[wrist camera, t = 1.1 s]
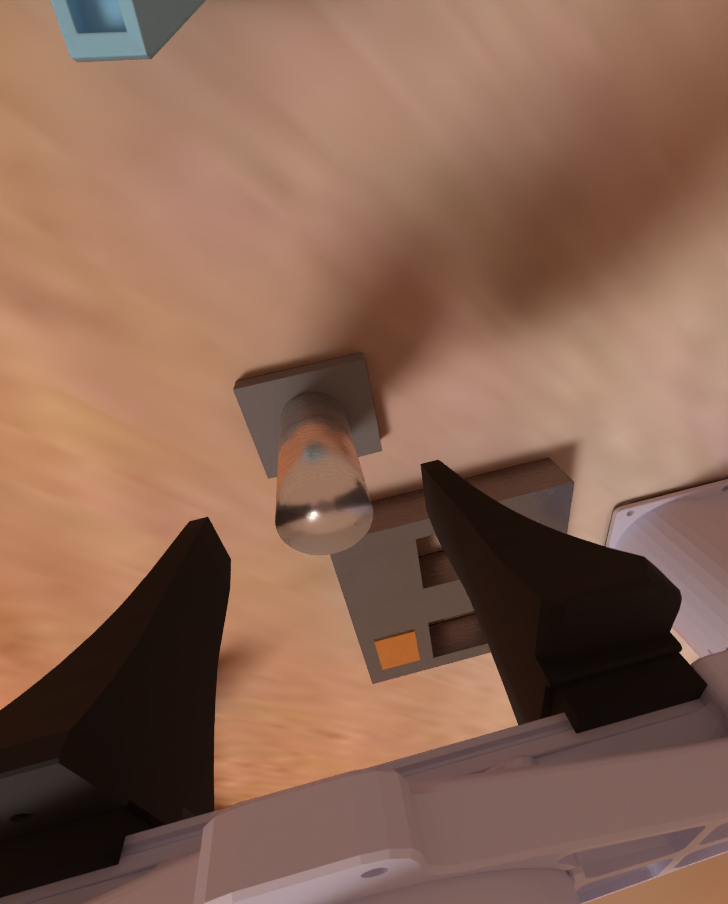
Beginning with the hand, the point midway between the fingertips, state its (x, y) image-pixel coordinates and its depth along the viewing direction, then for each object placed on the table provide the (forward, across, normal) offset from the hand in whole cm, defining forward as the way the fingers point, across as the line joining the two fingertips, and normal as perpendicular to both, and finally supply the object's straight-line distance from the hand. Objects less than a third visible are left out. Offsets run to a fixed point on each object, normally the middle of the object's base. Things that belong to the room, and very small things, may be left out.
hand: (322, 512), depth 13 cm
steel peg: (+7, 0, 0) cm, 7 cm away
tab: (+8, 0, 0) cm, 8 cm away
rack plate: (+8, -6, +14) cm, 17 cm away
